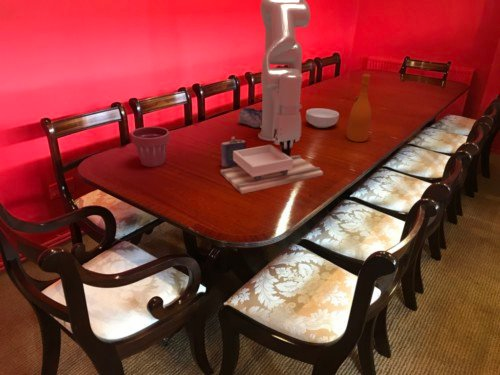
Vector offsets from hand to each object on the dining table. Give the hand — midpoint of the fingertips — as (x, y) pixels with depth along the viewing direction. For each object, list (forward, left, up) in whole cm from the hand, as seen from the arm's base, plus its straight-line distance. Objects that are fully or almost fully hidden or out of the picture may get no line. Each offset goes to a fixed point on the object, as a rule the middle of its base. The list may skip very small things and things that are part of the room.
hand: (285, 157), depth 144 cm
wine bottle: (-16, +50, -6) cm, 53 cm away
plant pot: (-30, -43, -6) cm, 53 cm away
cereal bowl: (-40, +47, -6) cm, 62 cm away
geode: (-55, +17, -6) cm, 58 cm away
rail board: (0, -6, -6) cm, 8 cm away
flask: (-14, -15, -6) cm, 22 cm away
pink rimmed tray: (0, -10, -3) cm, 11 cm away
